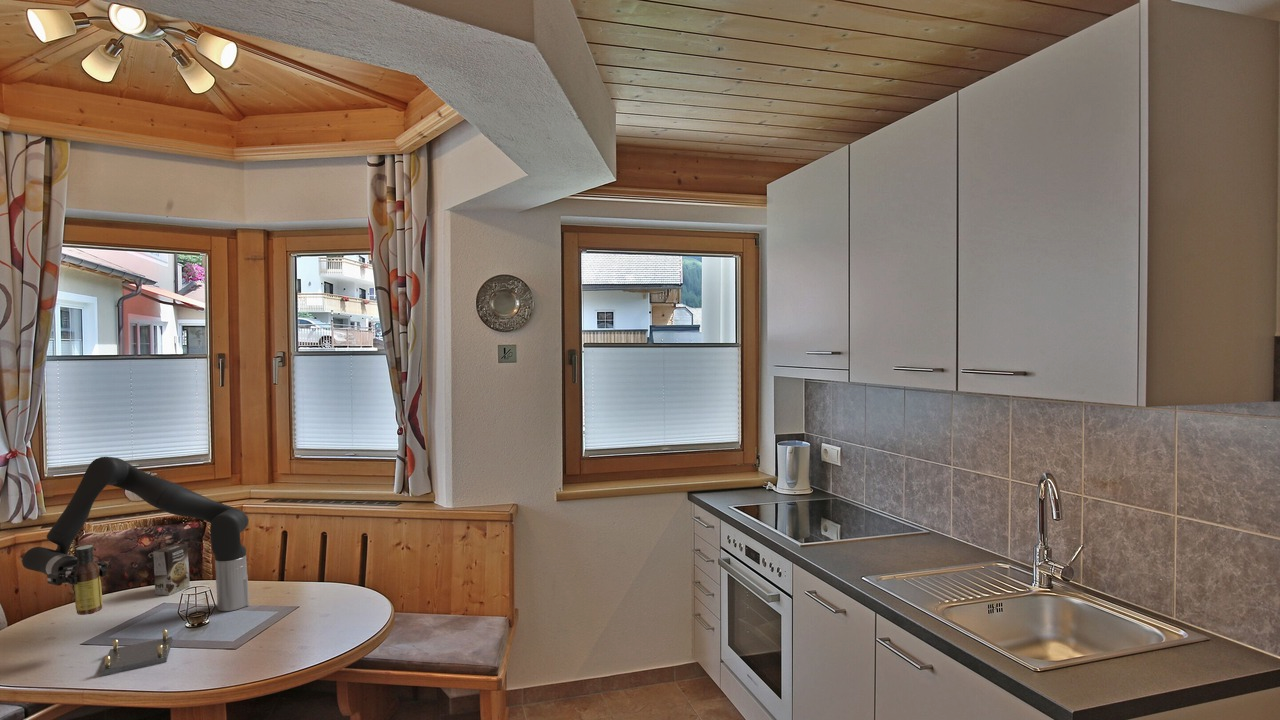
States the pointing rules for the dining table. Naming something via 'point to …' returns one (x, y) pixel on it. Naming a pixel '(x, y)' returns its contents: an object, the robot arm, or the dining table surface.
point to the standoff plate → (136, 655)
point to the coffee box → (171, 569)
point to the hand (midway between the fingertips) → (90, 577)
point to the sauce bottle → (87, 582)
